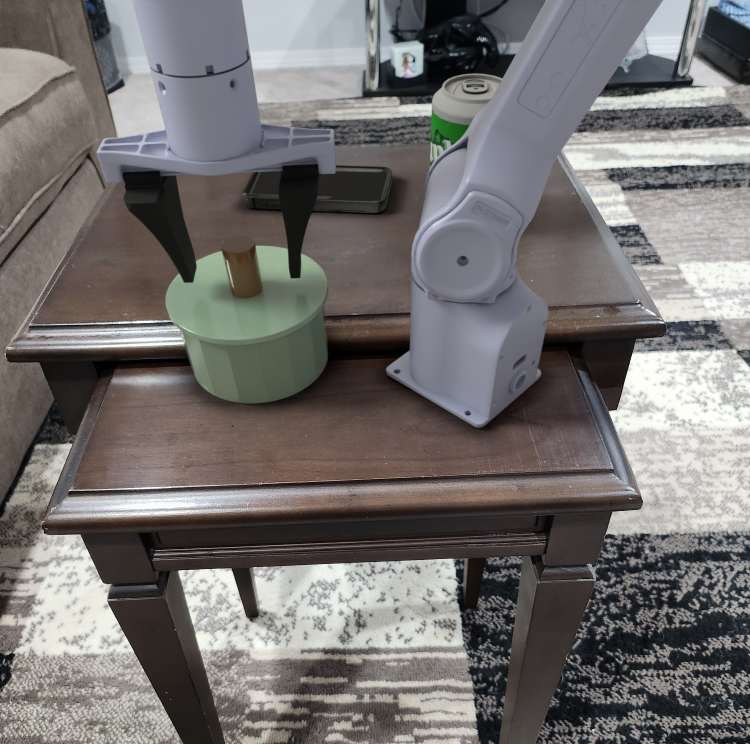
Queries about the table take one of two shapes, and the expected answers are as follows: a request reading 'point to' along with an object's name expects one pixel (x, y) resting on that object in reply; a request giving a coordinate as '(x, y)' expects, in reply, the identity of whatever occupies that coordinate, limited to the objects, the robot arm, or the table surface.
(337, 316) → the table surface
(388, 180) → the phone
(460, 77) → the soda can
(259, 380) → the pot
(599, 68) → the robot arm
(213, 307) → the pot lid
